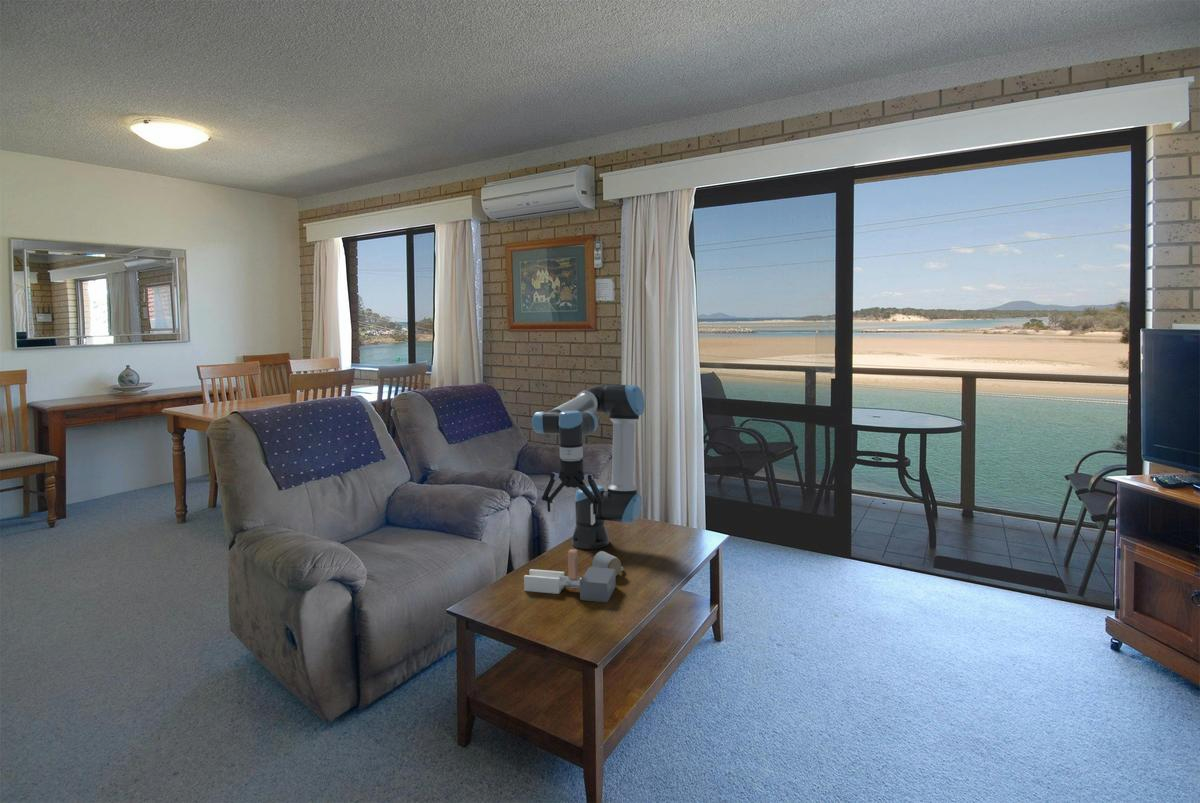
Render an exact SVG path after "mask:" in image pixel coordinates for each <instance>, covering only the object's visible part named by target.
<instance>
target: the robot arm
mask: <svg viewBox="0 0 1200 803" xmlns="http://www.w3.org/2000/svg"><path fill="white" fill-rule="evenodd" d="M644 411H645V397H644V392H643V391H642V389H641V388H640V387H639V386H638V385H633V384H607V383H606V384H604V383H603V384H599V385H594V386H592V387H588V388H586V389H584V390H582V391H580V392H579V393H578V394H577V395H576V396H575V397H574V398H572V399H570V400H568V401H566V402H565V403H562V404H561V405H558V406H557V407H555V408H554V407H553V409H550V410H549V411H543V410H542V411H536V412H535V413H534V414H533V416H532V419H531V427H532V430H533V431H534V432H535V433H536V434H542V435H559V436H558V438H559V458H560V460H559V471H560V472H559V473H557V472H556V471H553V472H551V474H550V478H549V479H550V480H549V482H548V483H547V485H546V488H545V490H544V492H543V495H542V497H541V500H542V501H545V502H546V503H547V504H546V505H547V512H548V513H550V523H554V522H555V521H556V501H555V500H554V499H555V497H557V496H558V494H559V493H560V492H561V491H562V489H563V488H564V487H566V488H573V489H576V488H578V489H577V490H576V492H575V498H574V503H575V504H574V506H575V508H574V509H575V510H574V512H575V526H574V530H573V534H572V536H571V545H572V546H573V547H574V548H577V549H582V550H598V549H602V548H605V547H607V546H608V545H610V537H609V533H608V531H607V528H606V524H605V521H606V522H607V521H609V522H615V523H622V524H632V523H635V522H636V521H637V519H638V518H639V516H640V514H641V510H642V504H643V498H642V495H641V494H640V493H638V488H637V487H636V485H635V484H634V472H635V470H634V469H635V465H634V464H635V462H634V461H635V439H636V438H635V437H636V435H635V434H636V433H635V432H636V429H635V428H636V426H635V425H636V423H637V422H638V421H639V420H640V419H639V418H640V416H641V415H643V414H644ZM595 414H607V415H609V420H610V421H611V422H612V451H611V452H612V453H611V454H612V457H611V484H609V485H608V487H607V490H605V487H604V486H602V485H597V484H596V482H595V480H594V479H595V478H594V474H593V473H591V472H590V473H588V474H585V473H584V459H583V458H584V453H583V452H584V448H583V446H584V444H583V443H584V442H583V440H584V439H583V438H584V437H585V436H589V435H591V434H593V433H594V432H596V430H597V429H598V427H599V420H598V419H599V418H598V417H597V415H595ZM558 478H559V480H560V481H561V482H560V484H559V485H558V486H557V487H556V489H555V490H554V491H553V492H552V493H551V490H552V489H553V486H554V485H555V482H556V480H557V479H558ZM584 480H585V481H586V482H588V484H589V485H588V486H587V485H586V483H585V482H584ZM550 493H551V495H550ZM549 495H550V496H549Z"/></svg>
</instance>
